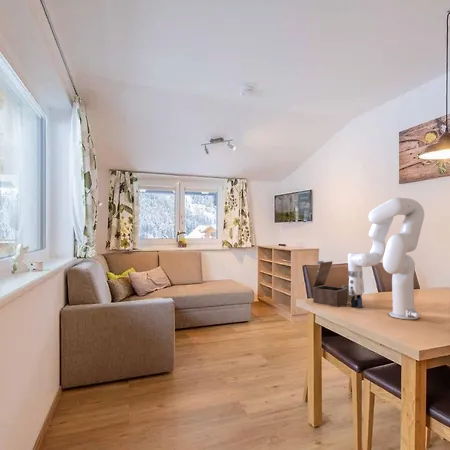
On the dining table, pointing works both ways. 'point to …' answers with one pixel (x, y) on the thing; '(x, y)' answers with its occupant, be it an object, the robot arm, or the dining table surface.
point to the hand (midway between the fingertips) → (356, 305)
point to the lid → (322, 273)
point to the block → (359, 302)
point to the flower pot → (348, 291)
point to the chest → (330, 295)
